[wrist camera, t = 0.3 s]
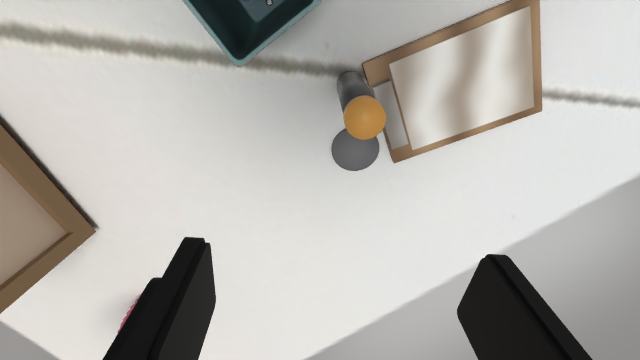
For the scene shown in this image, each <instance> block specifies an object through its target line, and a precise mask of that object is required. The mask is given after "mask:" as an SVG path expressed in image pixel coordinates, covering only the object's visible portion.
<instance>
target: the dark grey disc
mask: <svg viewBox="0 0 640 360" xmlns="http://www.w3.org/2000/svg"><path fill="white" fill-rule="evenodd" d="M378 153H379V142H378V140H377V138H376V136H375V137H373V138H371V139H366V140H361V139H357V138H355V137H353V136H352V135H350V134H349V132H348V131H347V129H344V130H343V131H341V132H340V133H339V134H338V135H337V136H336V137H335V139H334V141H333V144H332V156H333V158H334V160H335V162H336V163H337V164H338V165H339V166H340V167H342V168H344V169H346V170H350V171H358V170H362V169H365V168H367V167H368V166H370V165H371V164H372V163H373V162H374V161H375V160H376V158H377V156H378Z"/></svg>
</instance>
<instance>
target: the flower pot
mask: <svg viewBox="0 0 640 360" xmlns="http://www.w3.org/2000/svg"><path fill="white" fill-rule="evenodd" d="M182 1H183V2H184V3H185V4H186V5H187V7H188V8H189V9H190V10H191V11H192V13H193V14H194V15H195V16H196V18H197V19H198V20H199V22H200V23H201V24H202V25H203V26H204V28H205V29H206V30H207V31H208V33H209V34H210V35H211V36H212V38H213V39H214V40H215V41H216V43H217V44H218V45H219V46H220V48H221V49H222V50H223V52H224V53H225V54H226V55H227V57H228V58H229V60H230V61H231V62H232V63H233V64H234V65H235V66H237V67H242V66H244V65H245V64H246V63H247V62H249V61H250V60H251V59H252V58H253V57H254V56H256V55H257V54H258V53H259V52H260V51H262V50H263V49H264V48H265V47H266V46H268V45H269V44H270V43H271V42H272V41H274V40H275V39H276V38H277V37H279V36H280V35H281V34H282V33H283V32H285V31H286V30H287V29H288V28H290V27H291V26H292V25H293V24H295V23H296V22H297V21H298V20H300V19H301V18H302V17H303V16H305V15H306V14H307V13H309V12H310V11H311V10H313V9H314V8H315V7H316V6H318V5H319V4H320V2H321V1H322V0H271V1H272V4H271V5H268V4H267V0H182Z"/></svg>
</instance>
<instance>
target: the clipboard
mask: <svg viewBox="0 0 640 360" xmlns="http://www.w3.org/2000/svg"><path fill="white" fill-rule="evenodd" d="M362 66H363V69H364V72H365V75H366V78H367V81H368V84H369V88H370V91H371V93H372V94H373V96H374V97H375V99H376V100H377V101H378V102H379V103H380V104H381V106H382V107H383V109H384V111H385V114H386V122H385V126H384V128H383V132H384V135H385V138H386V141H387V144H388V147H389V151H390V154H391V157H392V160H393V162H394V163H396V162H399V161H402V160H405V159H408V158H411V157H413V156H416V155H419V154H422V153H425V152H428V151H430V150H433V149H436V148H439V147H442V146H445V145H447V144H450V143H453V142H456V141H459V140H461V139H464V138H467V137H470V136H473V135H476V134H478V133H481V132H484V131H487V130H490V129H493V128H495V127H498V126H501V125H504V124H507V123H510V122H512V121H515V120H518V119H521V118H524V117H527V116H529V115H532V114H535V113H538V112H541V111H542V82H541V42H540V2H539V0H510V1H508V2H505V3H503V4H501V5H498V6H496V7H493V8H491V9H489V10H486V11H484V12H482V13H479V14H477V15H475V16H472V17H470V18H467V19H465V20H463V21H460V22H458V23H456V24H453V25H451V26H449V27H446V28H444V29H441V30H439V31H437V32H434V33H432V34H430V35H427V36H425V37H423V38H420V39H418V40H416V41H413V42H411V43H408V44H406V45H404V46H401V47H399V48H397V49H394V50H392V51H390V52H387V53H385V54H382V55H380V56H378V57H375V58H373V59H371V60H368V61H366V62H364V63H362Z"/></svg>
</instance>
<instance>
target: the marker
mask: <svg viewBox="0 0 640 360" xmlns="http://www.w3.org/2000/svg"><path fill="white" fill-rule="evenodd" d="M337 91H338V95H339V99H340V102H341V106H342V110H343V114H344V115H343V118H344V122H345V126H346V129H347V131H348V132H349V134H350V135H352V136H353V137H355V138H357V139H361V140H366V139H371V138H373V137H375V136H377V135H378V134H379V133H380V132H381V131H382V129H383V128H384V126H385V122H386V114H385V111H384V109H383V107H382V106H381V104H380V103H379V102H378V101H377V100H376V99H375V97H374V96H373V94H372V93H371V91H370V90H369V88H368V86H367V85H366V83H365V82H364V80H363V79H362V77H361V76H360V75H359V74H358V73H356V72H346V73H344V74H343V75H341V76H340V78H339V79H338V81H337Z"/></svg>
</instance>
